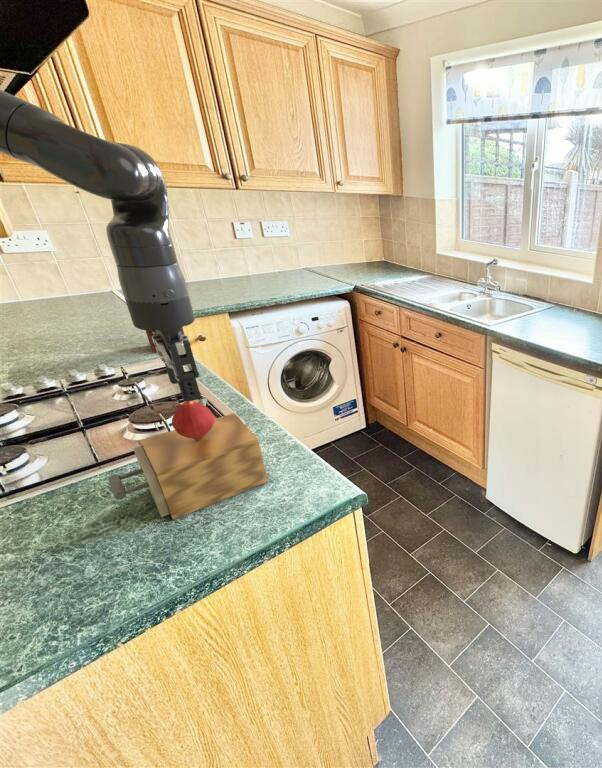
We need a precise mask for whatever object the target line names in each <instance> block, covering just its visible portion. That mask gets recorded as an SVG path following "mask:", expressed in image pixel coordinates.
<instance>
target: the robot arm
mask: <svg viewBox="0 0 602 768" xmlns="http://www.w3.org/2000/svg"><path fill="white" fill-rule="evenodd" d="M0 153H1V154H3V155H6V156H9V157H11V158H14V159H16V160H19V161H21V162H24V163H27V164H29V165H32V166H36V167H38V168H40V169H41V170H43V171H45V172H46V173H48V174H50V175H53V176H54V177H56V178H58V179H59V180H62V181H64V182H66V183H67V184H69V185H72V186H74V188H78V189H80V190H82V191H84V192H87V193H89V194H91V195H94V196H97V197H100V198H102V199H103V198H104V199H106V200H110V202H111V209H112V215H113V216H112V219H111V220H110V221H109V222H108V223H107V225H106V227H105V228H106V229H105V231H106V232H105V233H106V237H107V240H108V245H109V248H110V251H111V253H112V257H113V259H114V263H115V264H116V270H117V277H118V282H119V286H120V288H121V291H122V294H123V297H124V300H125V303H126V307H127V309H128V312H129V316H130V318H131V322H132V325H133V327H135V328H137V329H138V330H141V331H146V330H148V331H152V333H153V336H152V340H153V342H154V345H155V346H156V350H157V352H156V353H157V355H158V356H159V357H160V360H161V362H162V363H163V364H164V366H165V369H166V373H167V377H168V379H169V382H170V383H171V384H173V385H175V384H178V386H179V390H180V393H181V397H182V399H183V400H184V402H185V401H186V402H189V401H193V402H194V401H196V400H200V399H201V397H202V396H201V393H200V389H199V385H198V381H197V378H200V372H199V371H198V368H197V364H196V360H195V357H194V354H193V350H192V347H191V345H192V344H191V342H190V340H189V336H187V335H185V336H184V334H185V332H184V333H183V332H181V331H180V329H181V328H182V327H183V328H184V327H188V326H189V325H191V324H193V323H194V322H195V320H196V317H195V313H194V310H193V306H192V302H191V298H190V295H189V291H188V286H187V283H186V279H185V276H184V274H183V272H182V269H181V267H180V263H179V261H178V257H177V253H176V250H175V249H176V248H175V245H174V241H173V239H172V236H171V232H170V212H169V211H170V210H169V197H168V191H167V185H166V184H167V183H166V180H165V177H164V175H163V173H162V170H161V168H160V166H159V164H158V163H157V162H156V160H155V159H154V158H153V157H152V156H151V155H150V154H149V153H147V151H145V150H143V149H141V148H139V147H137V146H135V145H132V144H128V143H122V142H115V141H109V140H106V139H103V138H100V137H98V136H95V135H93V134H91V133H88V132H86V131H82V130H80V129H78V128H76V127H73V126H72V125H69V124H68V123H66V122H65V121H64V120H62V118H60V117H59V116H57V115H55V114H54V113H52V112H50V111H48V110H46V109H44V108H43V107H40V106H38V105H36V104H34V103H31V102H29V101H27V100H25V99H22V98H20V97H18V96H15V95H14V94H11V93H9V92H7V91H4V90H2V89H0ZM184 366H187V367H188V369H189V370H186V371H185V369H184Z"/></svg>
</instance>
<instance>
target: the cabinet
mask: <svg viewBox="0 0 602 768" xmlns="http://www.w3.org/2000/svg"><path fill="white" fill-rule="evenodd" d="M214 418H215V417H214ZM139 442H140V446H142V447H143V449H144V451H145V453H146V455H147V457H148V459H149V461H150V463H151V466H152V468H153V470H154V472H155V474H156V476H157V479H158V481H159V484H160V487H161V489H162V492H163V495H164V498H165V500H166V503H167V506H168V508H169V511H170V514H169V515H170V517H171V519H172V521H173V520H176V519H179V518H181V517H184V516H186V515H189V514H192V513H194V512H196V511H198V510H201V509H203V508H207V507H209V506H211V505H213V504H216V503H218V502H221V501H224V500H226V499H229V498H231V497H234V496H236V495H238V494H241V493H243V492H246V491H248V490H251V489H253V488H256V487H259V486H261V485H263V484H266V483H268V482H269V479H268V475H267V471H266V467H265V466H266V465H265V462H264V457H263V454H262V450H261V445H260V440H259V438H258V437H257V436H256V435H255V434H254V432H253V431H252V430H251V429H250V428H249V427H248V426H247V425H246V424H245V422H244V421H242V419H241V418H240V417H239V416H238V414H236V412H233V413H230V414H227V415H223V416H219V417H216V418H215V423H214V425H213V427H212V429H211V430H210V431H209V432H208V433H207V434H206V435H205V436H204V437H203V438H202V439H201V440H195V439H191V438H187V437H184V436H181V435H180V434H178V433H177V432H176V430H175V429H174V430H170V431H166V432H162V433H160V434H156V435H151V436H148V437H145V438H141V439H139Z"/></svg>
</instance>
